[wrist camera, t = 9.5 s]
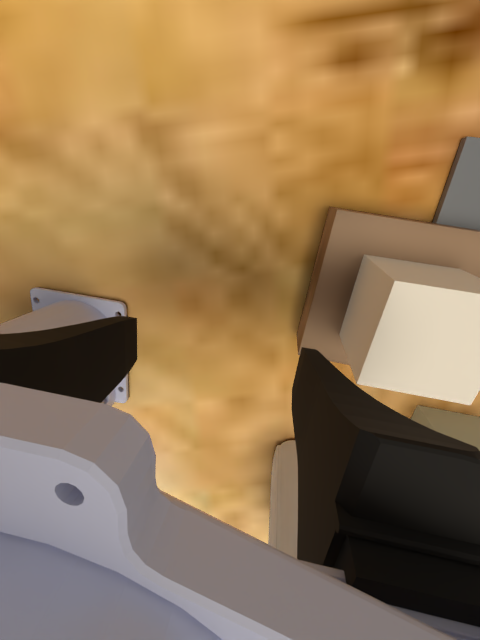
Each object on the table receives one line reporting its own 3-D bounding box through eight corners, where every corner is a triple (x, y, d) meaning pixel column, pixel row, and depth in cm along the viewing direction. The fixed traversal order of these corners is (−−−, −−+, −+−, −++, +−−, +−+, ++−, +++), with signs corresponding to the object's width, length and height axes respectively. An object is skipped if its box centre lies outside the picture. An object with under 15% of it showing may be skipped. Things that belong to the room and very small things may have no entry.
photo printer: (313, 522, 28) (334, 738, 16) (269, 516, 28) (260, 720, 17) (322, 440, 24) (358, 641, 13) (272, 435, 25) (263, 623, 13)
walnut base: (419, 357, 21) (439, 383, 18) (296, 333, 21) (298, 354, 19) (482, 230, 17) (519, 238, 14) (329, 206, 17) (337, 209, 15)
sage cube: (457, 465, 23) (501, 527, 19) (395, 452, 24) (422, 510, 19) (484, 417, 22) (540, 472, 17) (416, 404, 22) (452, 455, 17)
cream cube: (422, 349, 17) (470, 405, 13) (339, 334, 18) (356, 383, 13) (460, 268, 15) (533, 302, 11) (363, 254, 15) (394, 280, 11)
